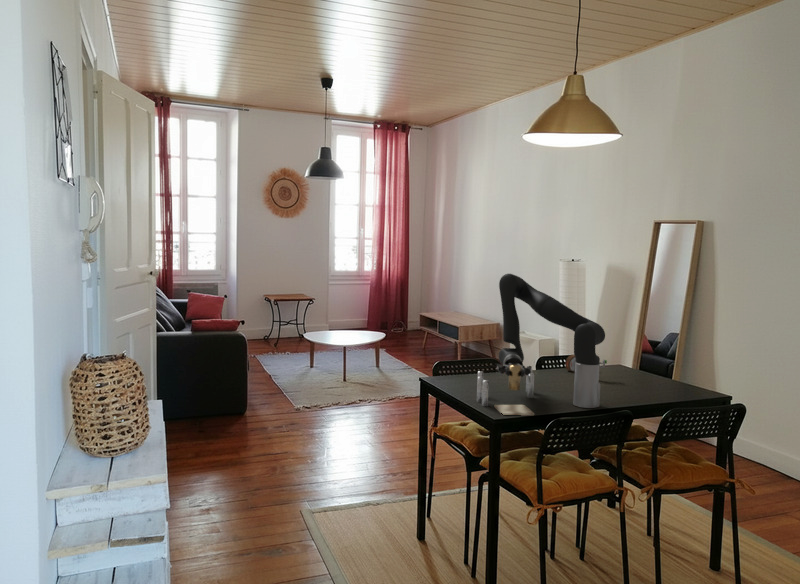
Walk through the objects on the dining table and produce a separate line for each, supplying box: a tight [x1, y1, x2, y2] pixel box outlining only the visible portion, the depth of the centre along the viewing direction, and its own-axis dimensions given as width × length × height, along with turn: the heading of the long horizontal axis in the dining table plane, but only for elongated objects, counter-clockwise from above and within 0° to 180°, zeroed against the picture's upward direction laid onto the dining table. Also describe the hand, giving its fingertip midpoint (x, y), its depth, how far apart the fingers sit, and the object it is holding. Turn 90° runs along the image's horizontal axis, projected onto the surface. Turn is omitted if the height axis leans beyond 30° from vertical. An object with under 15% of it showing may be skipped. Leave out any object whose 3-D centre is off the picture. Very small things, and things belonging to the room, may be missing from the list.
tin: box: [564, 354, 576, 373], centre depth 311 cm, size 15×3×8 cm, turn 122°
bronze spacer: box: [507, 364, 522, 391], centre depth 232 cm, size 4×4×9 cm
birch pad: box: [493, 404, 535, 416], centre depth 233 cm, size 12×12×1 cm
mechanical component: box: [599, 359, 608, 369], centre depth 292 cm, size 3×10×10 cm, turn 79°
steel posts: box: [476, 369, 535, 407], centre depth 251 cm, size 28×24×10 cm
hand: (515, 373), depth 229 cm, fingers closed on bronze spacer, 4 cm apart
